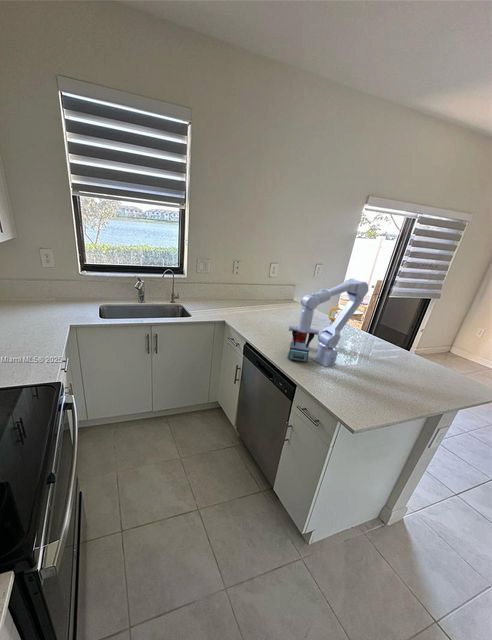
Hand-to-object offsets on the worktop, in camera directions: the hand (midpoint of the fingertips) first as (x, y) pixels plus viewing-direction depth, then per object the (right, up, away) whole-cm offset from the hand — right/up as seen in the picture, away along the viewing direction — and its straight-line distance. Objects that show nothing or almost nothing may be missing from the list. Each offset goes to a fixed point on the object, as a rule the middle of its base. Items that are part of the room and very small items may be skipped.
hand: (300, 346), depth 146 cm
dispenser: (+1, -5, +11) cm, 12 cm away
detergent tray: (0, -6, +7) cm, 9 cm away
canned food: (+6, +1, +27) cm, 27 cm away
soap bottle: (+23, +1, +28) cm, 36 cm away
